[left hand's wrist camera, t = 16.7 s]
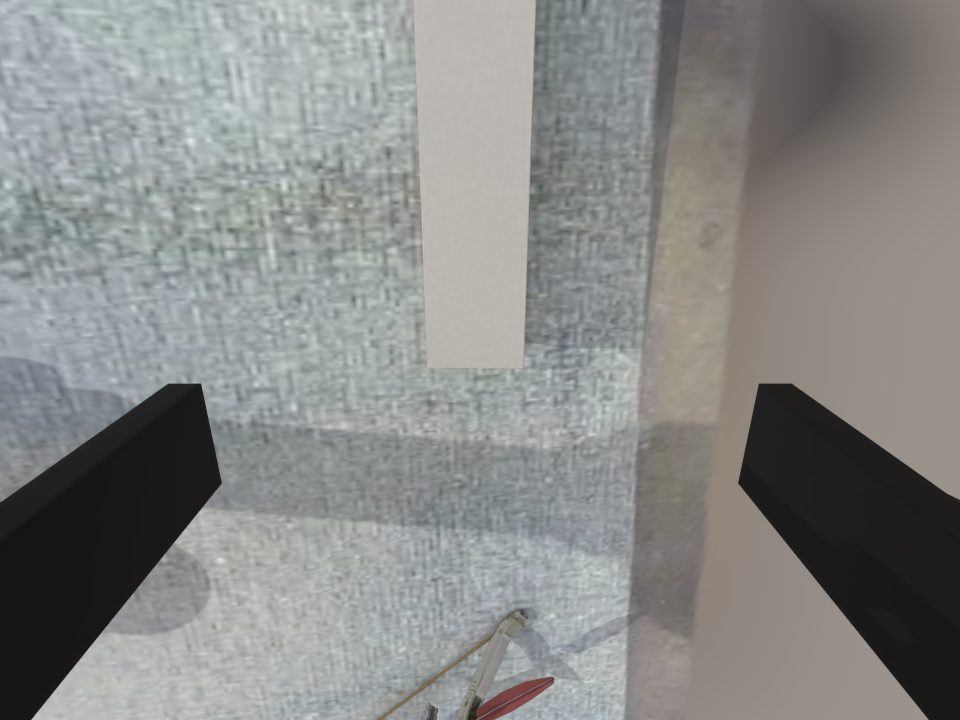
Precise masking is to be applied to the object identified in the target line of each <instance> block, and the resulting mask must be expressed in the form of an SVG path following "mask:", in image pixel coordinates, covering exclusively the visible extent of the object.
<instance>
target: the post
mask: <svg viewBox="0 0 960 720" xmlns="http://www.w3.org/2000/svg"><path fill="white" fill-rule="evenodd" d="M413 2H414V29H415V56H416V83H417V110H418V137H419V164H420V190H421V217H422V244H423V271H424V298H425V325H426V352H427V368H488V369H523V368H524V348H525V319H526V290H527V260H528V231H529V202H530V173H531V144H532V114H533V85H534V56H535V27H536V0H413Z"/></svg>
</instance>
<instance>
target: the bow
mask: <svg viewBox="0 0 960 720" xmlns="http://www.w3.org/2000/svg"><path fill="white" fill-rule="evenodd" d="M527 620H528V617H524V616H523V615H521V611H519V612H517V611H516V612H515V613H514V614H513V613H512V614H511V615H510V616H508V617H507V618H506V619H505V620H504V621H503V622H502V623H501V624H500V626H499V627H498V629H497V631H496V632H495V633H494V634H492V635H491V636H490V637H488V638H487V639H486V640H484V641H483V642H482V643H480V644H479V645H478V646H476V647H475V648H474V649H472V650H471V651H470V652H468V653H467V654H465V655H464V656H463V657H461V658H460V659H459V660H457V661H456V662H455V663H453V664H452V665H451V666H449V667H448V668H447V669H445V670H444V671H443V672H441V673H440V674H439V675H437V676H436V677H435V678H433V679H432V680H431V681H429V682H428V683H427V684H425V685H424V686H422V687H421V688H420V689H418V690H417V691H416V692H414V693H413V694H412V695H410V696H409V697H408V698H406V699H405V700H404V701H402V702H401V703H400V704H398V705H397V706H396V707H394V708H393V709H392V710H390V711H389V712H388V713H386V714H385V715H384V716H382V717H381V718H380V719H378V720H382V719H383V718H385V717H386V716H387V715H389V714H390V713H391V712H393V711H394V710H395V709H397V708H398V707H399V706H401V705H402V704H403V703H405V702H406V701H407V700H409V699H410V698H412V697H413V696H414V695H416V694H417V693H418V692H420V691H421V690H422V689H424V688H425V687H426V686H428V685H429V684H430V683H432V682H433V681H434V680H436V679H437V678H438V677H440V676H441V675H443V674H444V673H445V672H447V671H448V670H449V669H451V668H452V667H453V666H455V665H456V664H457V663H459V662H460V661H461V660H463V659H464V658H465V657H467V656H468V655H469V654H471V653H472V652H474V651H475V650H476V649H478V648H479V647H480V646H482V645H483V644H484V643H486V642H487V641H488V640H490V639H491V640H490V642H489V644H488V646H487V648H486V650H485V652H484V655H483V657H482V660H481V662H480V663H479V665H478V667H477V669H476V671H475V673H474V676H473V678H472V681H471V683H470V685H469V688H468V690H467V692H468V693H466V695H465V697H464V700H463V702H462V704H461V707H460V709H459V711H458V713H457V715H456V718H455V720H494V719H496V718H499V717H501V716H503V715H505V714H507V713H510V712H512V711H514V710H515V709H517V708H518V707H520V706H522V705H523V704H525V703H527V702H528V701H530V700H531V699H533V698H534V697H536V696H537V695H538V694H540V693H541V692H543V691H544V690H545V689H547V688H548V687H549V686H551V685H552V684H554V678H553V677H547V678H542V679H537V680H532V681H526V682H524V683H522V684H519V685H517V686H515V687H512V688H510V689H508V690H505V691H503V692H501V693H500V694H498V695H497V696H495V697H494V698H492V699H491V700H489V701H488V702H486V703H485V704H484V705H482V703H483V701H484V697H485V696H486V694H487V692H488V690H489V688H490V686H491V684H492V682H493V680H494V678H495V675H496V673H497V671H498V669H499V667H500V665H501V663H502V660H503V657H504V654H505V651H506V648H507V646H508V643H509V642H510V640H511V639H512V638H513V636H514V635H515V634H516V633H517V632H518V631H519V629H520V628H521V627H524V623H525V622H526V621H527ZM481 705H482V706H481ZM437 713H438V708H437V709H436V708H435V707H434V706H432V705H431V704H430V703H428V704H427V705H425V706H424V707H423V714H422V717H421V719H422V720H436V719H437Z"/></svg>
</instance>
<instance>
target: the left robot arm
mask: <svg viewBox="0 0 960 720" xmlns="http://www.w3.org/2000/svg"><path fill="white" fill-rule="evenodd" d="M221 484H222V482H221V477H220V472H219V467H218V463H217V458H216V453H215V448H214V443H213V439H212V434H211V429H210V424H209V419H208V415H207V410H206V405H205V400H204V395H203V391H202V386H201V384H167V385H166V386H164V387H163V388H162V389H160V390H159V391H157V392H156V393H155V394H153V395H152V396H150V397H149V398H148V399H146V400H145V401H143V402H142V403H140V404H139V405H138V406H136V407H135V408H133V409H132V410H131V411H129V412H128V413H126V414H125V415H124V416H122V417H121V418H119V419H118V420H116V421H115V422H114V423H112V424H111V425H109V426H108V427H107V428H105V429H104V430H102V431H101V432H100V433H98V434H97V435H95V436H94V437H92V438H91V439H90V440H88V441H87V442H85V443H84V444H83V445H81V446H80V447H78V448H77V449H76V450H74V451H73V452H71V453H70V454H68V455H67V456H66V457H64V458H63V459H61V460H60V461H59V462H57V463H56V464H54V465H53V466H52V467H50V468H49V469H47V470H46V471H44V472H43V473H42V474H40V475H39V476H37V477H36V478H35V479H33V480H32V481H30V482H29V483H27V484H26V485H25V486H23V487H22V488H20V489H19V490H18V491H16V492H15V493H13V494H12V495H11V496H9V497H8V498H6V499H5V500H3V501H2V502H0V720H31V719H32V718H33V717H34V716H35V714H36V713H37V712H38V711H39V709H40V708H41V707H42V706H43V704H44V703H45V702H46V701H47V699H48V698H49V697H50V696H51V695H52V693H53V692H54V691H55V690H56V688H57V687H58V686H59V685H60V683H61V682H62V681H63V680H64V678H65V677H66V676H67V675H68V673H69V672H70V671H71V670H72V668H73V667H74V666H75V665H76V664H77V662H78V661H79V660H80V659H81V657H82V656H83V655H84V654H85V652H86V651H87V650H88V649H89V647H90V646H91V645H92V644H93V642H94V641H95V640H96V639H97V637H98V636H99V635H100V634H101V633H102V631H103V630H104V629H105V628H106V626H107V625H108V624H109V623H110V621H111V620H112V619H113V618H114V616H115V615H116V614H117V613H118V611H119V610H120V609H121V608H122V606H123V605H124V604H125V603H126V601H127V600H128V599H129V598H130V597H131V595H132V594H133V593H134V592H135V590H136V589H137V588H138V587H139V585H140V584H141V583H142V582H143V580H144V579H145V578H146V577H147V575H148V574H149V573H150V572H151V570H152V569H153V568H154V567H155V566H156V564H157V563H158V562H159V561H160V559H161V558H162V557H163V556H164V554H165V553H166V552H167V551H168V549H169V548H170V547H171V546H172V544H173V543H174V542H175V541H176V539H177V538H178V537H179V536H180V535H181V533H182V532H183V531H184V530H185V528H186V527H187V526H188V525H189V523H190V522H191V521H192V520H193V518H194V517H195V516H196V515H197V513H198V512H199V511H200V510H201V508H202V507H203V506H204V505H205V504H206V502H207V501H208V500H209V499H210V497H211V496H212V495H213V494H214V492H215V491H216V490H217V489H218V487H219V486H220V485H221ZM738 484H739V485H740V486H741V487H742V489H743V490H744V491H745V492H746V494H747V495H748V496H749V497H750V499H751V500H752V501H753V502H754V503H755V505H756V506H757V507H758V508H759V510H760V511H761V512H762V513H763V515H764V516H765V517H766V518H767V520H768V521H769V522H770V523H771V525H772V526H773V527H774V528H775V530H776V531H777V532H778V533H779V535H780V536H781V537H782V538H783V539H784V541H785V542H786V543H787V544H788V546H789V547H790V548H791V549H792V551H793V552H794V553H795V554H796V556H797V557H798V558H799V559H800V561H801V562H802V563H803V564H804V566H805V567H806V568H807V569H808V570H809V572H810V573H811V574H812V575H813V577H814V578H815V579H816V580H817V582H818V583H819V584H820V585H821V587H822V588H823V589H824V590H825V592H826V593H827V594H828V595H829V597H830V598H831V599H832V600H833V601H834V603H835V604H836V605H837V606H838V608H839V609H840V610H841V611H842V613H843V614H844V615H845V616H846V618H847V619H848V620H849V621H850V623H851V624H852V625H853V626H854V628H855V629H856V630H857V631H858V632H859V634H860V635H861V636H862V637H863V639H864V640H865V641H866V642H867V644H868V645H869V646H870V647H871V649H872V650H873V651H874V652H875V654H876V655H877V656H878V657H879V658H880V660H881V661H882V662H883V664H884V665H885V666H886V667H887V668H888V670H889V671H890V672H891V673H892V675H893V676H894V677H895V678H896V680H897V681H898V682H899V683H900V685H901V686H902V687H903V688H904V689H905V691H906V692H907V693H908V694H909V696H910V697H911V698H912V699H913V701H914V702H915V703H916V704H917V706H918V707H919V708H920V709H921V711H922V712H923V713H924V714H925V716H926V717H927V718H928V719H929V720H960V500H959V499H957V498H955V497H953V496H950V495H948V494H947V493H945V492H944V491H942V490H941V489H940V488H938V487H937V486H935V485H934V484H933V483H931V482H930V481H928V480H927V479H925V478H924V477H923V476H921V475H920V474H918V473H917V472H916V471H914V470H913V469H911V468H910V467H908V466H907V465H906V464H904V463H903V462H901V461H900V460H899V459H897V458H896V457H894V456H893V455H892V454H890V453H889V452H887V451H886V450H884V449H883V448H882V447H880V446H879V445H877V444H876V443H875V442H873V441H872V440H870V439H869V438H868V437H866V436H865V435H863V434H862V433H860V432H859V431H858V430H856V429H855V428H853V427H852V426H851V425H849V424H848V423H846V422H845V421H844V420H842V419H841V418H839V417H838V416H836V415H835V414H834V413H832V412H831V411H829V410H828V409H826V408H825V407H824V406H822V405H821V404H820V403H818V402H817V401H815V400H814V399H812V398H811V397H810V396H808V395H807V394H805V393H804V392H803V391H801V390H800V389H798V388H797V387H795V386H794V385H793V384H759V386H758V391H757V395H756V400H755V405H754V410H753V415H752V419H751V424H750V429H749V434H748V439H747V444H746V448H745V453H744V458H743V463H742V467H741V472H740V477H739V482H738Z"/></svg>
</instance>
